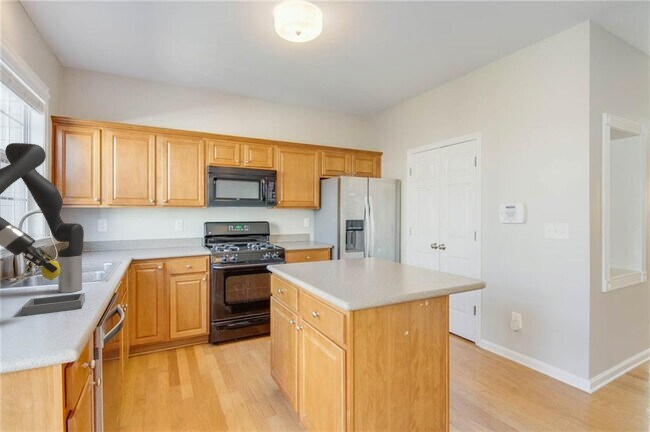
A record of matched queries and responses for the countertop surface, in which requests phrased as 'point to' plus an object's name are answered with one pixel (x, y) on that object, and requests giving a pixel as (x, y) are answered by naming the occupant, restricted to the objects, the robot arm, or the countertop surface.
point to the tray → (53, 304)
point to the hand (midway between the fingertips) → (56, 269)
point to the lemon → (50, 275)
